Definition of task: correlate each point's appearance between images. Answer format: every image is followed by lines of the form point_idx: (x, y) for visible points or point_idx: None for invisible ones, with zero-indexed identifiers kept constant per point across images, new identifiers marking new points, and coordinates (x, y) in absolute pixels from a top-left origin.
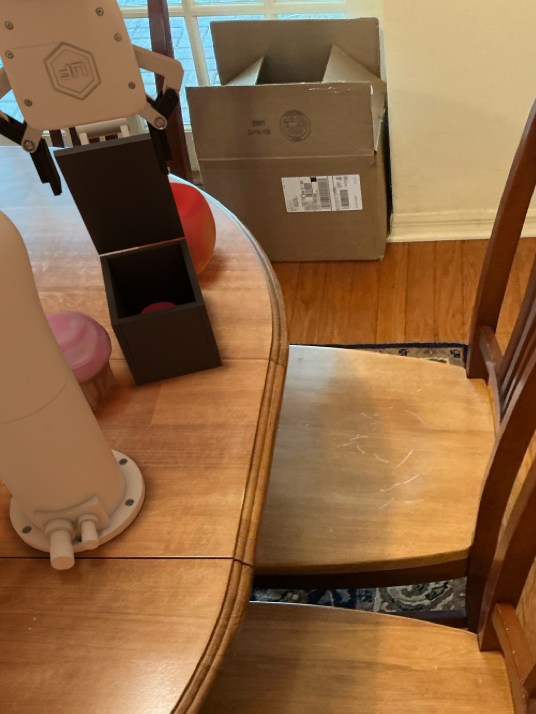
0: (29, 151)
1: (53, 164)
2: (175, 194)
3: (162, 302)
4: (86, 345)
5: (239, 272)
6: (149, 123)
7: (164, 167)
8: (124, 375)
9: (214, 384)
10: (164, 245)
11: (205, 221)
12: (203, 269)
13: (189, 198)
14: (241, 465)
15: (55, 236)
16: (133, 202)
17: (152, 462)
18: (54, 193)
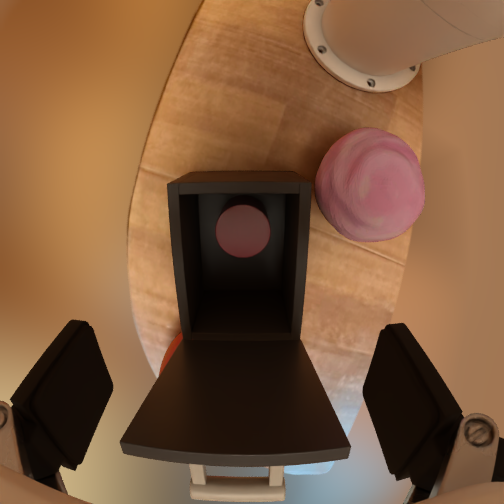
0: (476, 416)
1: (385, 409)
2: None
3: (235, 256)
4: (350, 152)
5: (156, 321)
6: (31, 438)
7: (68, 330)
8: None
9: (205, 143)
10: (211, 335)
11: (163, 367)
12: None
13: None
14: (202, 22)
15: None
16: (227, 376)
17: (292, 52)
18: (403, 325)
